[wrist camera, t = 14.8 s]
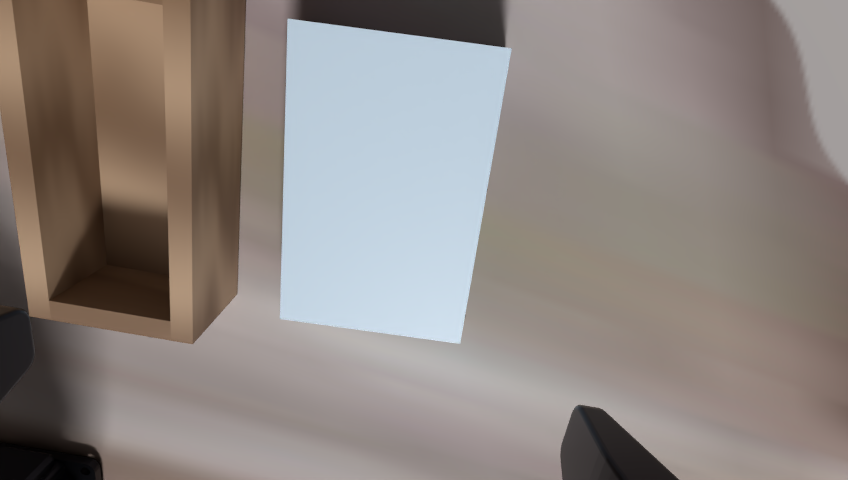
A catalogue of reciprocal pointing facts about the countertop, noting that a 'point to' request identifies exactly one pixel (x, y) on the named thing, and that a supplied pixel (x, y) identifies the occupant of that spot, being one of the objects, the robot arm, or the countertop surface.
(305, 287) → the lid
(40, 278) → the chisel box
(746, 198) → the countertop surface
